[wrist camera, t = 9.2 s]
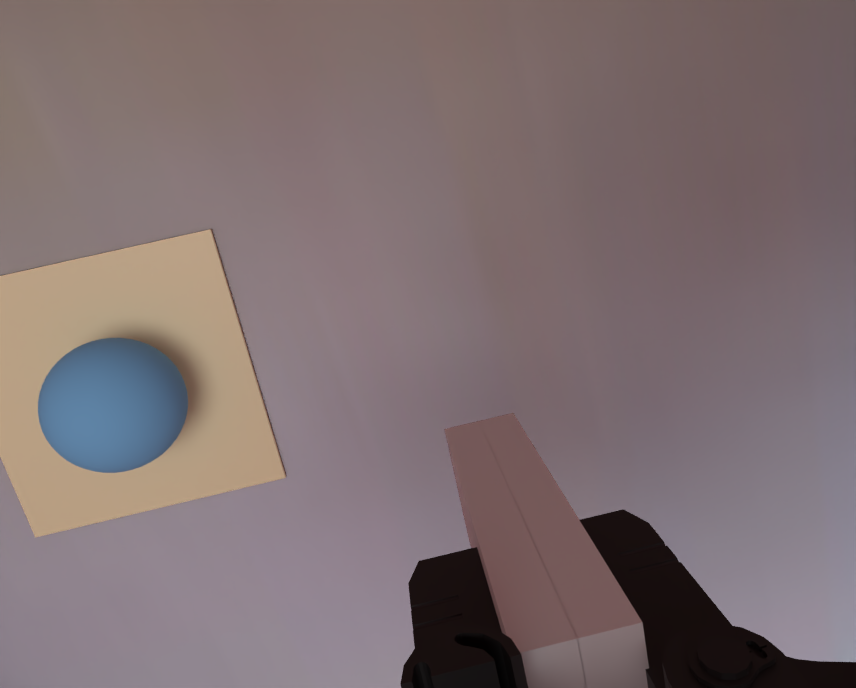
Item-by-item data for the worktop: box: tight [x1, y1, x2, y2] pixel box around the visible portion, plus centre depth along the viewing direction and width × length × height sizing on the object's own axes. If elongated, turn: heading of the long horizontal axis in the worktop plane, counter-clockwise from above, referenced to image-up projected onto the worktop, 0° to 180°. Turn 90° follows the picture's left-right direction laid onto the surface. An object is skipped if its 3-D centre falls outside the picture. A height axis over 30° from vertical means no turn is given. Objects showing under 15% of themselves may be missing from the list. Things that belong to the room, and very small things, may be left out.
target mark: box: [0, 229, 286, 537], centre depth 28 cm, size 12×12×1 cm
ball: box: [38, 338, 188, 473], centre depth 26 cm, size 6×6×6 cm
